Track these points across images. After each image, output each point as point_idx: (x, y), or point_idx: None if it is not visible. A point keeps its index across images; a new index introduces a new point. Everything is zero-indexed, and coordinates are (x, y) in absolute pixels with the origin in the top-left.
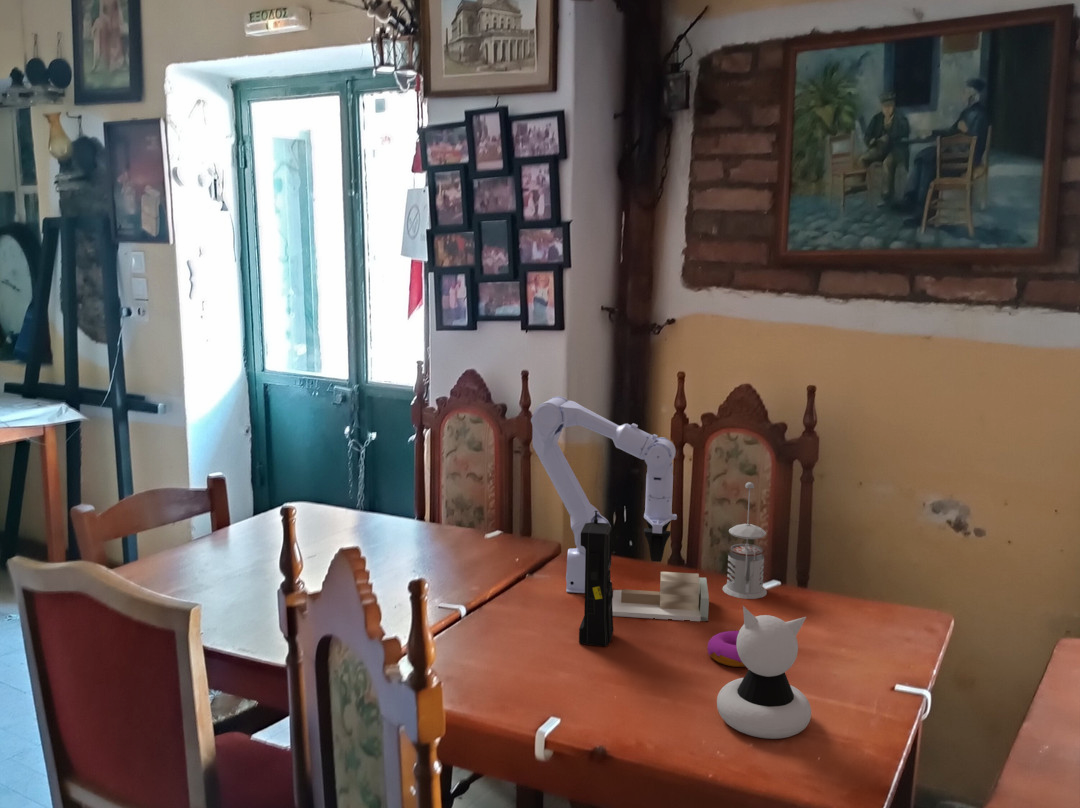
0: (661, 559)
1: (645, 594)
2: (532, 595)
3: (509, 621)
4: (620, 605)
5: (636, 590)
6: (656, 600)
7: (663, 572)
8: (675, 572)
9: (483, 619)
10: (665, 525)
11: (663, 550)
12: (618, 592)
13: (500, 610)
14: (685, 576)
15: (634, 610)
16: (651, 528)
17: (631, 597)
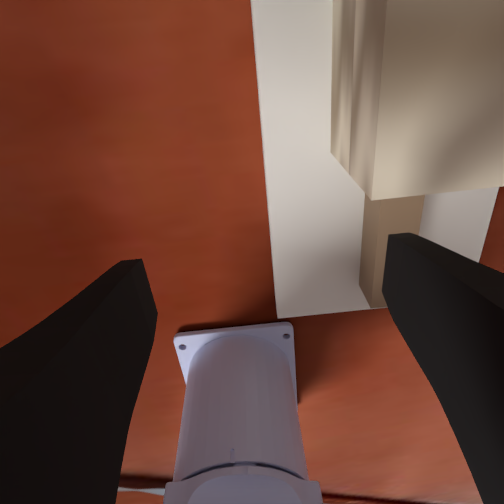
0: (421, 238)
1: (420, 220)
2: (326, 453)
3: None
4: None
5: (379, 260)
6: None
7: (384, 182)
8: (380, 101)
9: (466, 484)
10: (23, 434)
11: (494, 270)
12: (298, 302)
13: (420, 476)
14: (466, 8)
15: (467, 231)
16: (107, 483)
17: None
